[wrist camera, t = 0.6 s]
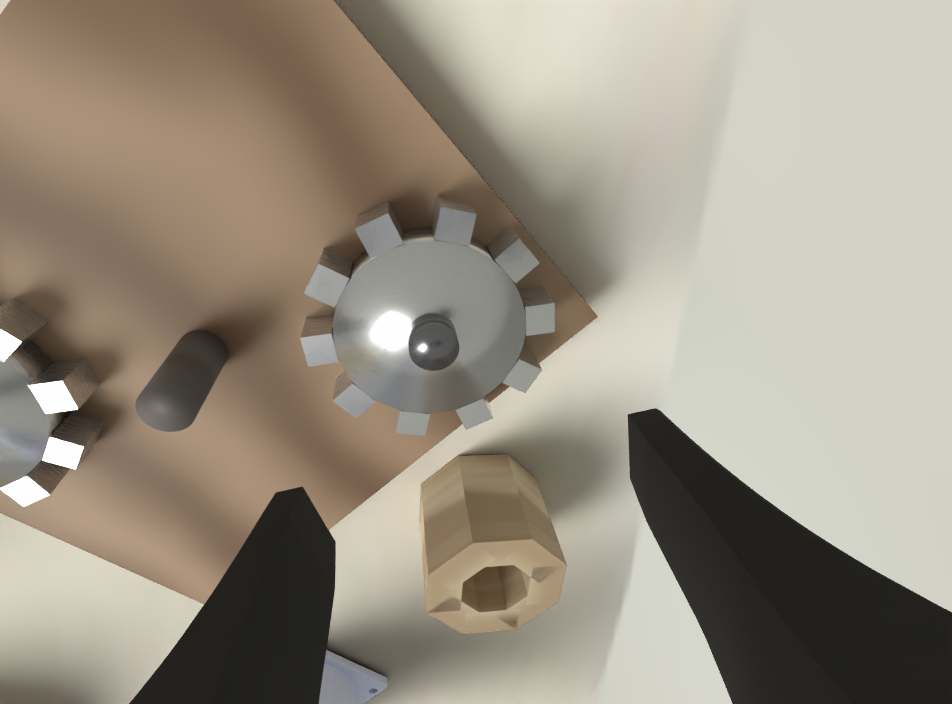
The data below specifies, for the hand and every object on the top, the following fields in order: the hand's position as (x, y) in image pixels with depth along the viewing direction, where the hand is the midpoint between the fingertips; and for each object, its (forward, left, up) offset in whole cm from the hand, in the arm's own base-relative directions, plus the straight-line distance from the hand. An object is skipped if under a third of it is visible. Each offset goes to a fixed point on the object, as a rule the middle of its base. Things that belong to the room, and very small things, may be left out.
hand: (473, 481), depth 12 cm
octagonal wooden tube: (-6, -9, -10) cm, 15 cm away
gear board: (-7, +5, -10) cm, 13 cm away
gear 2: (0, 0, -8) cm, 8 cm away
